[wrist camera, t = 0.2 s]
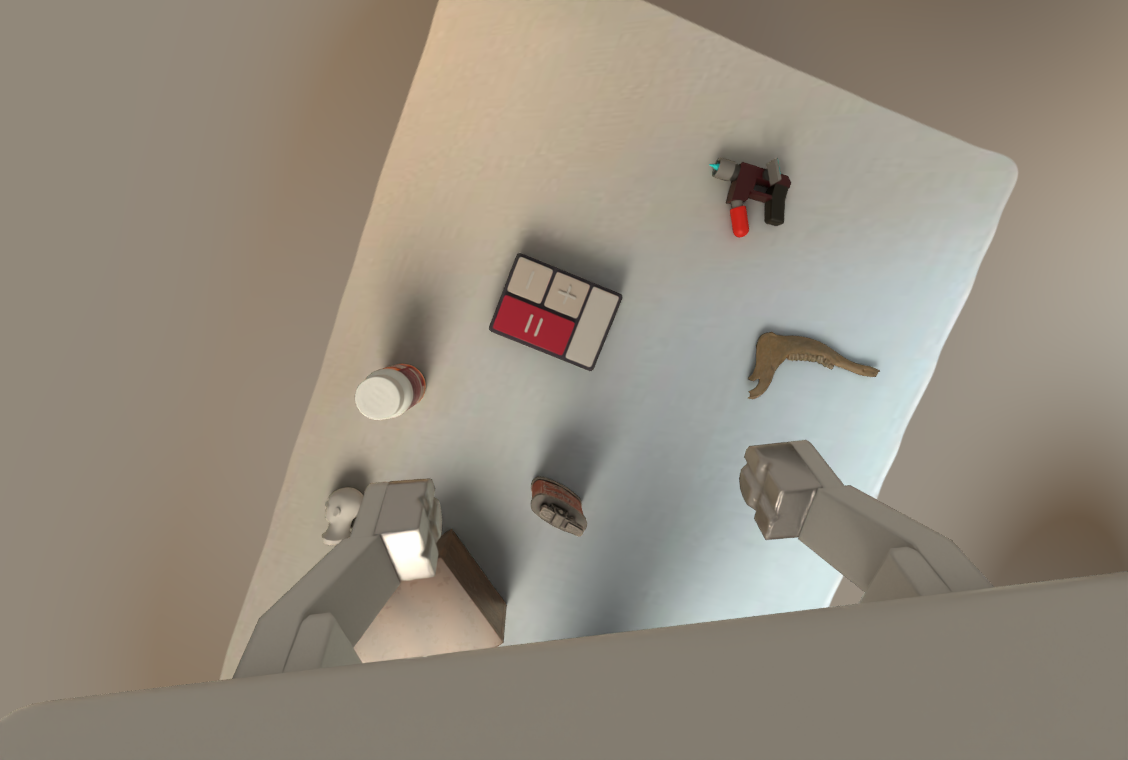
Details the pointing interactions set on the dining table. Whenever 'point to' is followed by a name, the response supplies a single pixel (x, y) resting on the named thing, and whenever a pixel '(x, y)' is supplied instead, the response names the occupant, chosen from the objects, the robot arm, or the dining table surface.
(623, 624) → the dining table surface
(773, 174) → the toy gun
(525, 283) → the calculator
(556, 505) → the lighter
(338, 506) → the white mannequin head
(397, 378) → the pill bottle
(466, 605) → the cabinet
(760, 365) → the jawbone
